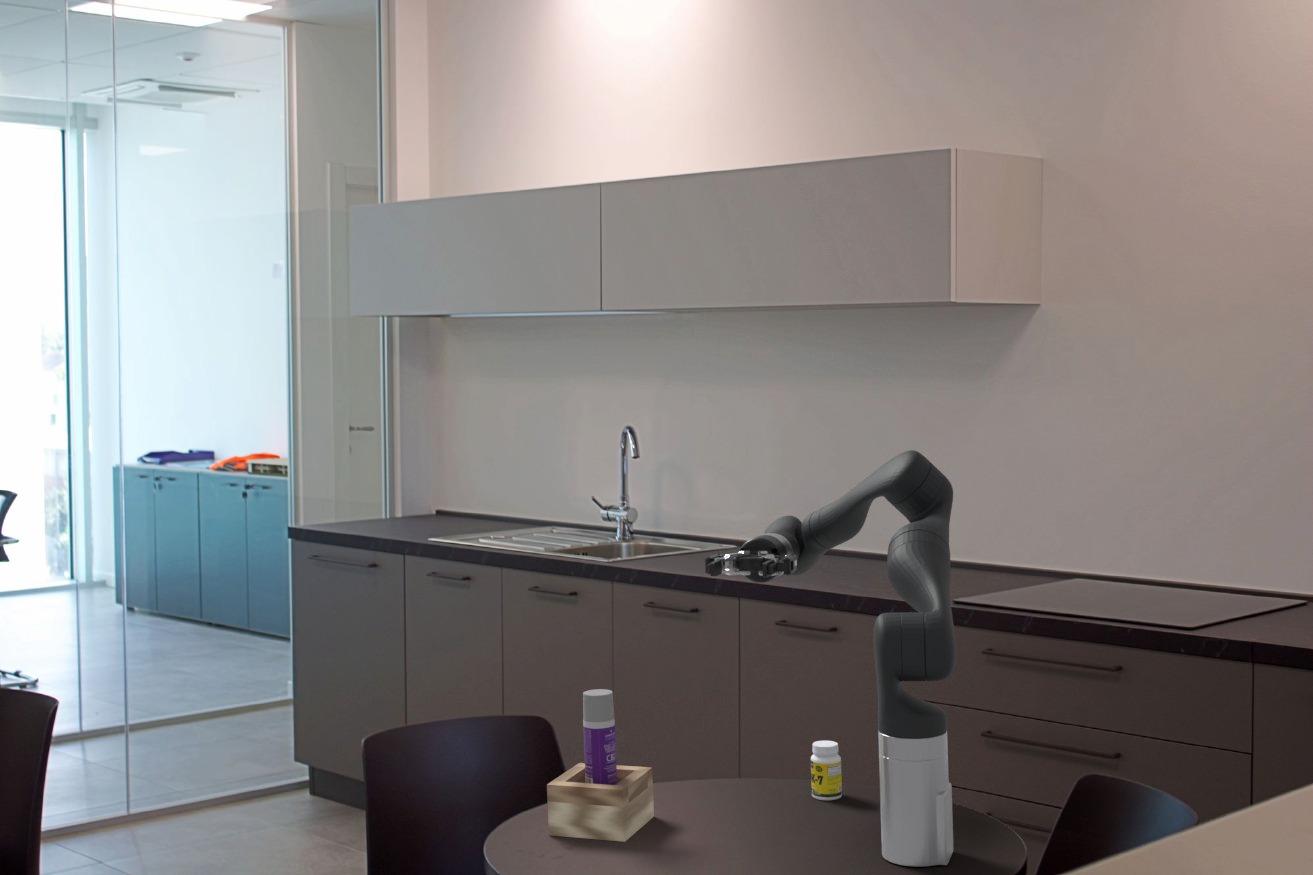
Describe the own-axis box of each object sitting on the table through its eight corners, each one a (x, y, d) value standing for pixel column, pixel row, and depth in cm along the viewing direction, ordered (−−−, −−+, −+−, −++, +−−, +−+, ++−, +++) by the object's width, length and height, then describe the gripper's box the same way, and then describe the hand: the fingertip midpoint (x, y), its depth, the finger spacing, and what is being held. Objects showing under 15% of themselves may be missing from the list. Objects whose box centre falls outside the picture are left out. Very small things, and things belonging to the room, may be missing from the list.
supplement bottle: (806, 794, 218) (804, 742, 218) (831, 790, 220) (829, 737, 220) (822, 802, 214) (820, 748, 213) (848, 797, 216) (846, 744, 215)
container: (613, 797, 203) (609, 695, 203) (582, 796, 204) (578, 695, 204) (620, 787, 208) (616, 688, 207) (590, 787, 209) (586, 688, 208)
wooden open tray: (653, 816, 210) (652, 767, 209) (625, 841, 198) (623, 789, 198) (581, 810, 214) (579, 762, 214) (548, 835, 203) (546, 784, 202)
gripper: (725, 534, 234) (694, 546, 218) (807, 534, 229) (781, 546, 213) (726, 578, 234) (696, 593, 219) (808, 579, 229) (783, 594, 214)
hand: (738, 570), depth 216 cm, fingers open, 8 cm apart
